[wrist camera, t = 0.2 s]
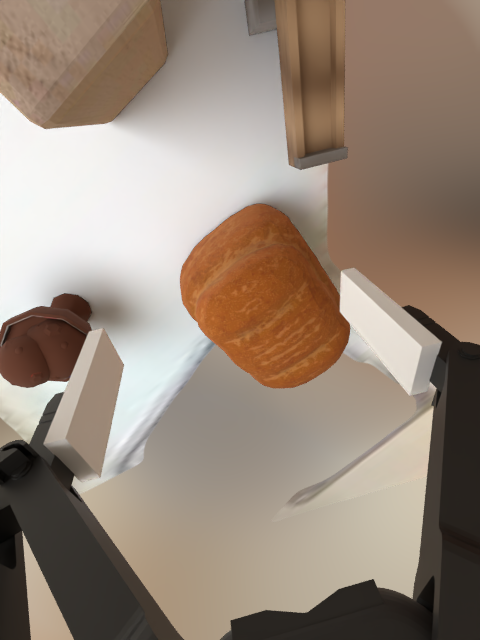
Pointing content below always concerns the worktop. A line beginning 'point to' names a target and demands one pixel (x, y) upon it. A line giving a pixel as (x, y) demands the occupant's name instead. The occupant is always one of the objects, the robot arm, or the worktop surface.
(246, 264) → the bread
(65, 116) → the wooden block
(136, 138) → the worktop surface
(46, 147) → the worktop surface
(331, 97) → the beam
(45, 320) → the ice cream bowl
